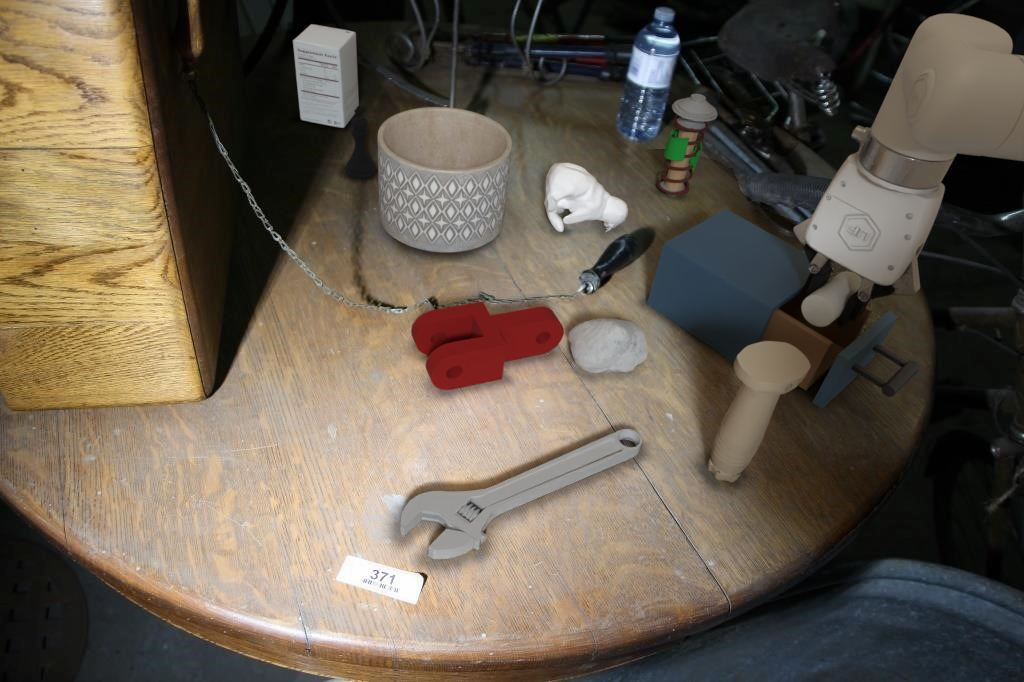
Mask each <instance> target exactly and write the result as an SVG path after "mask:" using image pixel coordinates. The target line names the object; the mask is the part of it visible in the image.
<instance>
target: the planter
mask: <svg viewBox="0 0 1024 682" xmlns="http://www.w3.org/2000/svg"><path fill="white" fill-rule="evenodd" d="M512 149H513V140H512V137H511V134H510V133H509V131H507V129H506V128H505V127H504V126H502V125H501V124H500V123H499V122H497V121H495V120H494V119H492V118H490V117H488V116H485V115H483V114H480V113H477V112H474V111H470V110H466V109H463V108H457V107H448V106H426V107H425V106H424V107H418V108H411V109H408V110H404V111H400V112H398V113H396V114H394V115H392V116H390V117H388V118H387V119H386V120H384V122H382V124H381V125H380V126H379V129H378V131H377V168H378V169H377V171H378V174H377V177H378V214H379V216H378V218H379V221H380V224H381V226H382V228H383V229H384V230H385V232H387V234H388V235H390V236H391V237H392V238H394V239H395V240H397V241H399V242H400V243H402V244H404V245H406V246H409V247H411V248H415V249H417V250H422V251H426V252H431V253H439V254H441V253H443V254H444V253H461V252H466V251H471V250H474V249H478V248H481V247H482V246H484V245H487V244H489V243H491V242H492V241H493V240H494V239H496V237H498V235H499V234H500V233H501V231H502V230H503V226H504V221H505V212H506V204H507V203H506V202H507V195H508V185H509V176H510V167H511V159H512V151H513V150H512Z"/></svg>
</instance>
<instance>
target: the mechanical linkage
mask: <svg viewBox="0 0 1024 682" xmlns="http://www.w3.org/2000/svg"><path fill="white" fill-rule="evenodd" d="M410 333H411V337H412V340H413V342H414V344H415V346H416V349H417V350H418V352H420V353H421V354H422V355H426V356H428V357H427V358H426V362H425V369H426V372H427V374H428V377H429V379H430V381H431V383H432V385H433V386H434V387H435V388H437V389H439V390H444V391H451V390H457V389H461V388H466V387H470V386H475V385H480V384H484V383H485V384H486V383H490V382H494V381H499V380H502V379H503V375H504V367H505V362H506V363H507V362H510V361H516V360H521V359H525V358H531V357H535V356H540V355H544V354H546V353H549V352H550V351H552V350H554V349H555V348H556V347H557V346H558V345H559V344H560V343H561V341H562V340H563V338H564V334H565V328H564V326H563V324H562V322H561V321H560V320H559V318H558V317H557V315H556V314H555V312H554V310H553V309H552V308H550V307H548V306H535V307H528V308H523V309H518V310H513V311H512V310H511V311H506V312H501V313H495V314H490V312H489V310H488V308H487V307H486V305H485V303H484V301H476V302H470V303H465V304H459V305H453V306H448V307H447V306H446V307H442V308H436V309H431V310H428V311H426V312H423V313H422V314H421V315H420V316H418V317H417V318H416V319H415V320H414V322H413V324H412V325H411V329H410Z"/></svg>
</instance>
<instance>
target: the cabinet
mask: <svg viewBox="0 0 1024 682" xmlns="http://www.w3.org/2000/svg"><path fill="white" fill-rule="evenodd" d="M662 245H663V246H662V250H661V253H660V257H659V259H658V263H657V267H656V270H655V274H654V276H653V277H654V278H653V280H652V284H651V287H650V290H649V295H648V298H647V301H646V305H648V306H650V307H651V308H652V309H654V310H655V311H656V312H658V313H660V314H661V315H662V316H664V317H666V318H667V319H669V320H670V321H672V322H673V323H675V324H676V325H678V326H679V327H681V328H682V329H684V330H685V331H686V332H688V333H690V334H691V335H693V336H694V337H696V338H697V339H698V340H700V341H702V342H703V343H705V344H706V345H708V346H709V347H710V348H712V349H714V351H716V352H718V353H719V354H721V355H722V356H724V357H725V358H727V359H728V360H730V361H731V362H733V363H734V362H735V360H736V357H737V355H738V354H739V353H740V352H741V351H742V350H743V349H744V348H745V347H747V346H749V345H751V344H755V343H759V342H761V340H762V337H763V335H764V333H765V330H766V328H767V326H768V324H769V321H770V319H771V317H772V315H773V312H774V311H775V310H777V309H778V308H780V307H781V306H782V305H784V304H785V303H786V302H788V301H789V300H791V299H792V298H793V297H795V296H796V295H797V294H799V293H800V292H802V289H803V287H804V285H805V283H806V281H807V278H808V276H809V274H810V271H809V269H808V266H809V264H810V263H809V261H808V258H807V256H806V253H805V251H804V250H801V249H799V248H797V247H795V246H794V245H792V244H790V243H788V242H786V241H784V240H783V239H781V238H779V237H777V236H775V235H774V234H772V233H770V232H768V231H766V230H765V229H763V228H760V226H758V225H756V224H754V223H752V222H750V221H748V220H747V219H745V218H743V217H741V216H740V215H738V214H736V213H734V212H733V211H731V210H729V209H727V208H725V209H724V210H722V211H720V212H718V213H716V214H714V215H713V216H711V217H708V218H707V219H705V220H703V221H701V222H700V223H698V224H696V225H695V226H692V227H691V228H689V229H687V230H685V231H683V232H682V233H679V234H678V235H676V236H674V237H672V238H670V239H668V240H667V241H665V242H664V243H663V244H662Z"/></svg>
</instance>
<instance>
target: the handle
mask: <svg viewBox="0 0 1024 682" xmlns="http://www.w3.org/2000/svg"><path fill="white" fill-rule="evenodd" d="M809 369H810V363H809V361H808V359H807V358H806V356H805V355H804V354H803V353H802V352H801V351H800V350H798V349H797V348H796V347H794V346H792V345H790V344H788V343H786V342H776V341H763V342H759V343H755V344H751V345H749V346H747V347H745V348H744V349H743V350H742V351H741V352H740V353H739V354H738V355H737V357H736V360H735V362H733V371H734V373H735V375H736V376H737V378H738V379H739V380H740V381H741V382H742V383H741V384H740V387H739V389H738V390H737V392H736V395H735V396H734V398H733V400H732V401H731V403H730V406H729V408H728V409H727V411H726V413H725V415H724V417H723V419H722V420H721V422H720V424H719V427H718V429H717V432H716V434H715V437H714V441H713V444H712V448H711V453H710V456H711V457H710V458H709V459H708V463H707V469H708V472H711V474H712V475H713V478H714V479H715V480H717V481H727V482H729V483H734V482H736V481H737V480H738V479H739V477H740V476H741V473H742V472H743V471H744V470H745V469H746V468H747V466H748V465H749V464H750V463H751V461H752V460H753V457H754V456H755V454H756V453H757V451H758V449H759V447H760V446H761V443H762V441H763V439H764V436H765V433H766V431H767V428H768V426H769V423H770V421H771V418H772V415H773V413H774V411H775V408H776V406H777V403H778V402H779V398H780V396H781V395H785V394H787V393H790V392H791V391H792V390H795V388H797V387H799V386H798V385H799V384H800V383H801V382H802V380H803V379H804V378H805V376H806V375H807V373H808V371H809Z"/></svg>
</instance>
